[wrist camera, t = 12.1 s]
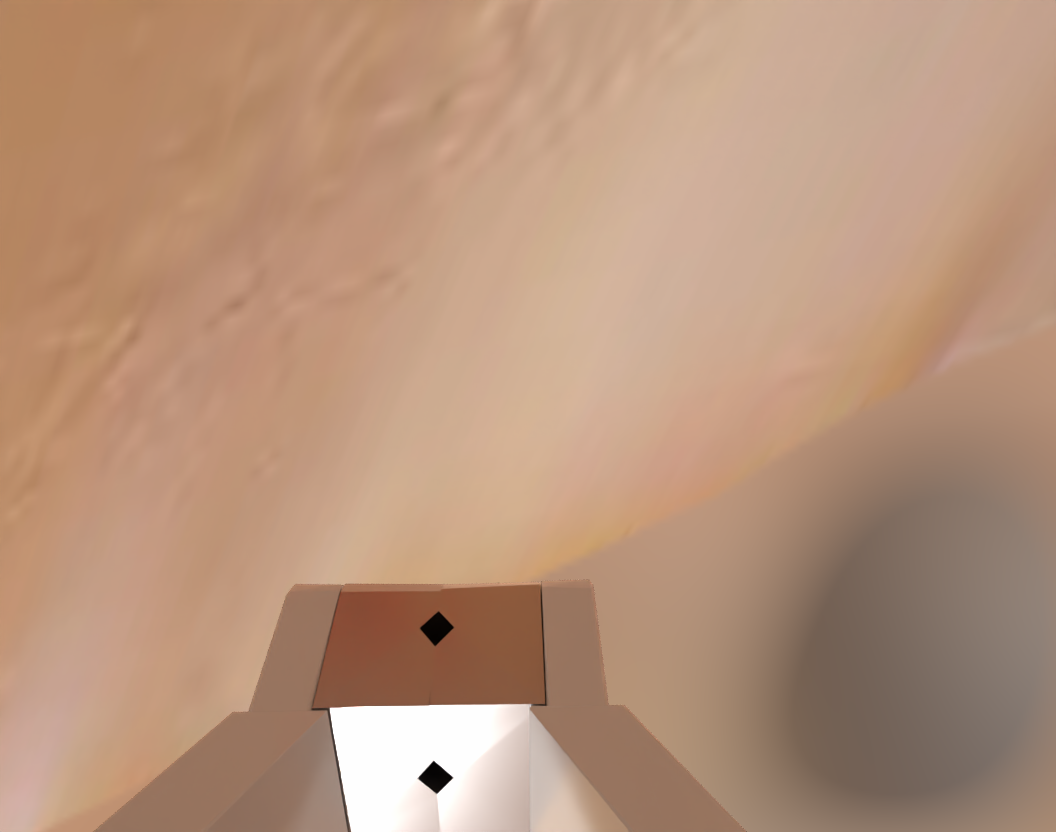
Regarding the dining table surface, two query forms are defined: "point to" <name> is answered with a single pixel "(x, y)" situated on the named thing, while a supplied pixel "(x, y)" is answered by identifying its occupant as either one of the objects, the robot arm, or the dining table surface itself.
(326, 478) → the dining table surface
